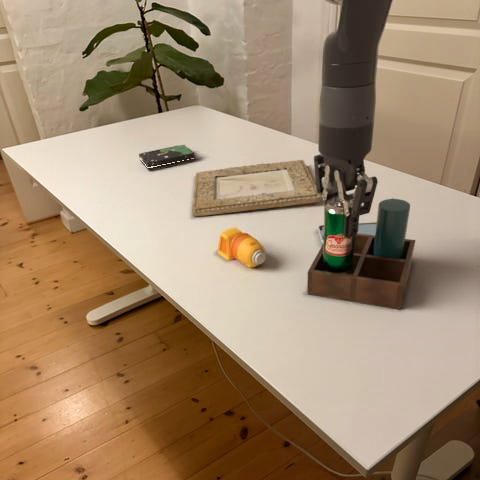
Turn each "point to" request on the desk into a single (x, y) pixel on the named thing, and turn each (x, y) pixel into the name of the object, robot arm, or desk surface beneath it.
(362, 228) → the smartphone
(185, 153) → the disk drive
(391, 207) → the can
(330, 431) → the desk surface
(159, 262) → the desk surface
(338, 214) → the soda can
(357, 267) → the brown wooden compartment tray
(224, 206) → the picture frame
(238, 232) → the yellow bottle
